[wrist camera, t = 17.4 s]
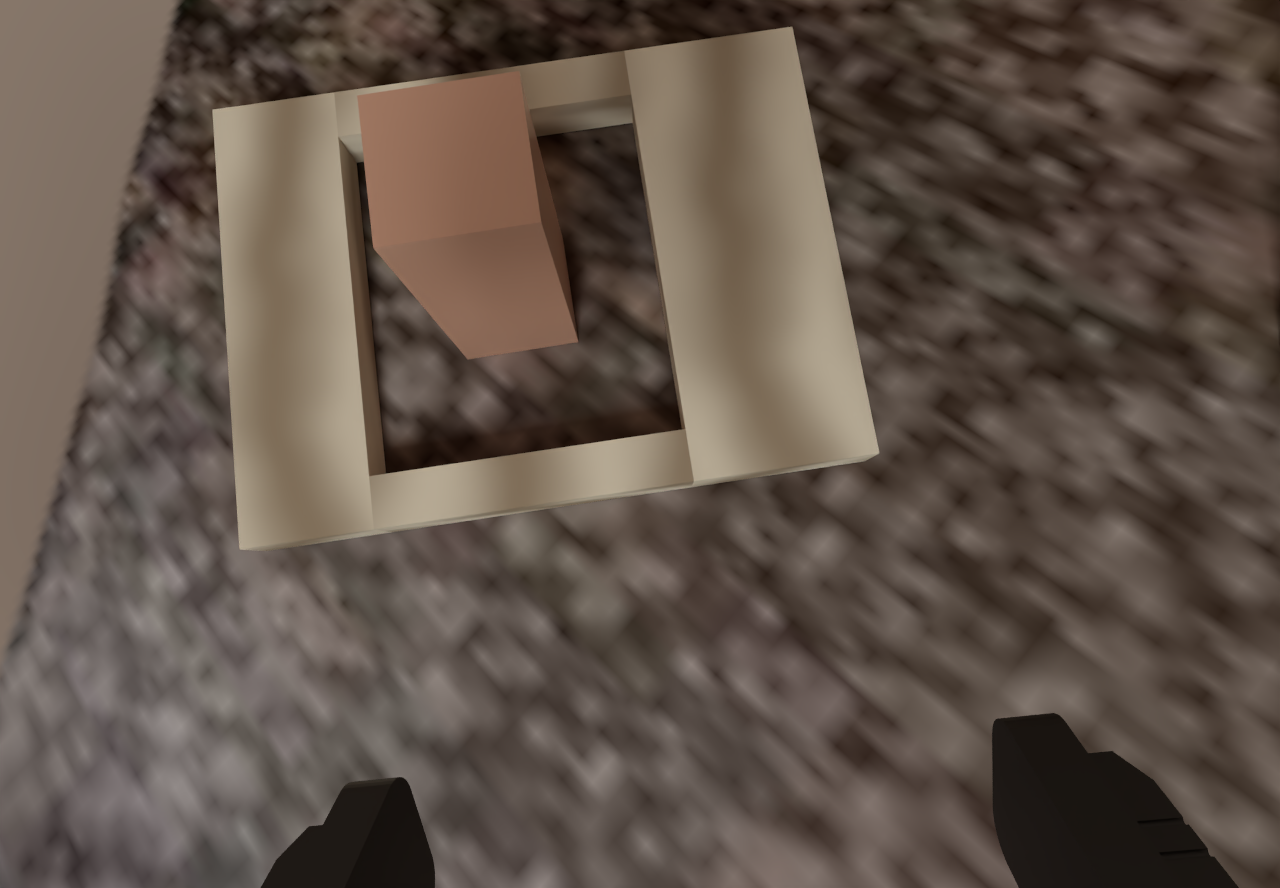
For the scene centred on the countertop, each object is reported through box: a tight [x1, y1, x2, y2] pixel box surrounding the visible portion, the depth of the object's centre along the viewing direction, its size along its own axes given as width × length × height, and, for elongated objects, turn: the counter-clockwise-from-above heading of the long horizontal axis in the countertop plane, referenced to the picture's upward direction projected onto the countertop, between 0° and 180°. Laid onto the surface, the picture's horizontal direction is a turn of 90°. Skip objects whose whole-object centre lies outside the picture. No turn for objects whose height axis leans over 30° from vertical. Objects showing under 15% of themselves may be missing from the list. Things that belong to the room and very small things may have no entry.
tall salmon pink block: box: [357, 71, 578, 359], centre depth 27 cm, size 5×5×11 cm
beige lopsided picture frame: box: [213, 27, 879, 551], centre depth 31 cm, size 24×18×2 cm
